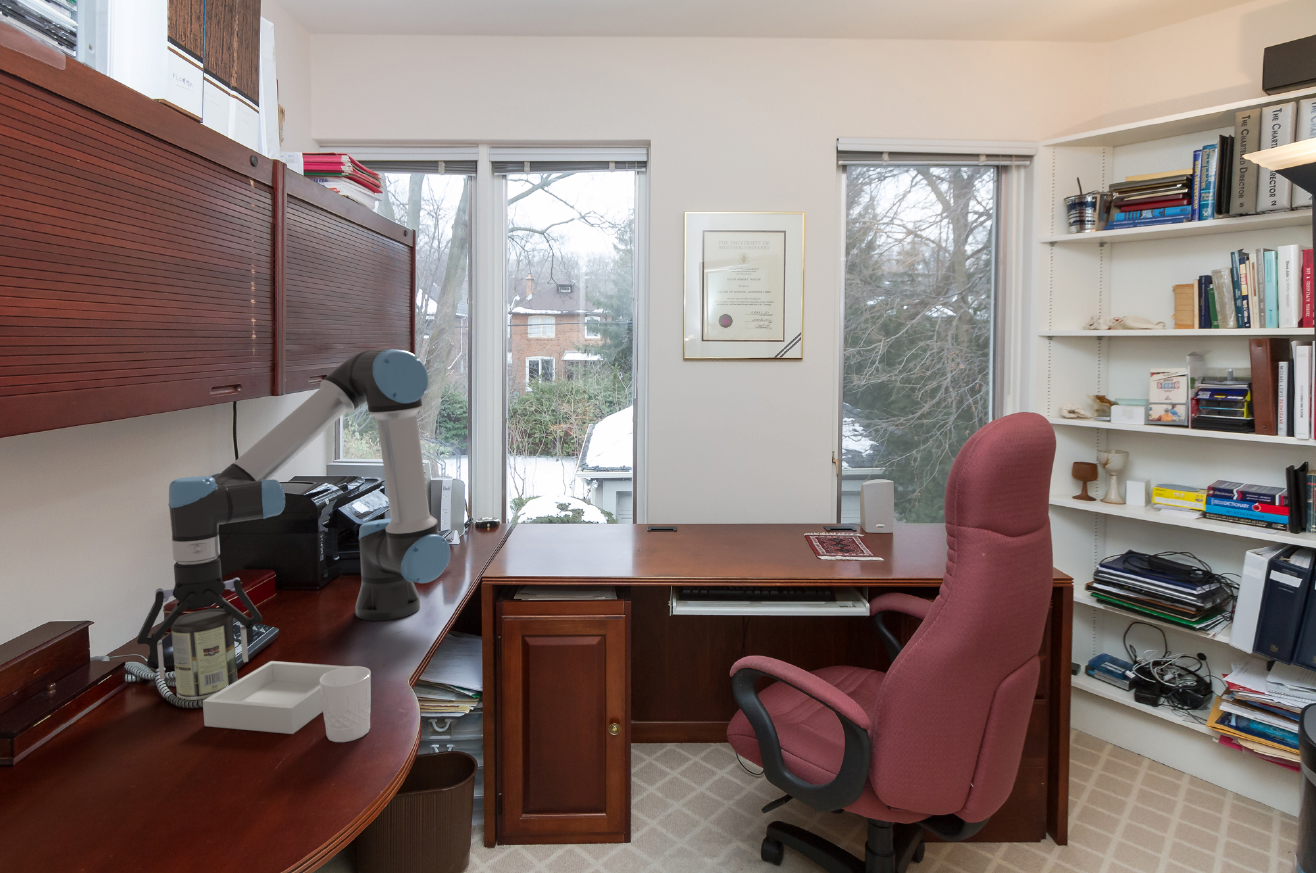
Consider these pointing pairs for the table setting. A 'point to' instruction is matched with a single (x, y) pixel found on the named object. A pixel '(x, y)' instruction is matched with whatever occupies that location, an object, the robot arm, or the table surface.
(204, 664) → the coffee can
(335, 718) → the white cup
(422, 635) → the table surface
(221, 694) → the tray
